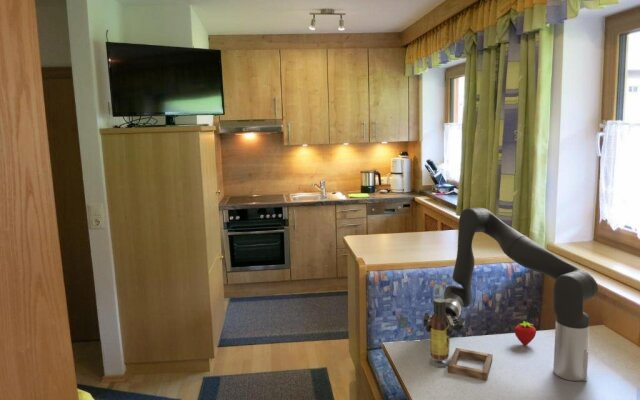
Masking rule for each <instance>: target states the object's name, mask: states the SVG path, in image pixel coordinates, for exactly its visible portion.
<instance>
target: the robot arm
mask: <svg viewBox="0 0 640 400" xmlns="http://www.w3.org/2000/svg"><path fill="white" fill-rule="evenodd" d="M457 233H458V234H457V253H456V258H455V264H454V267H453V273H452V280H453V281H454V282H455V283H457V284H459V285H460V286H461V287H460V286H456V285H454V284H450V285H448V286H446V287H445V289H444V293H443V299H445V300H446V305H445V311H446V315H447V318H448V321H449V327H448V329H447V335H448V336H449V337H450V336H451V335H453V333H454V332H455V331H456V332H458V333H460V332H462V330H463V329H464V328H465V326H466V324H465V323H466V321H465V320H466V319H465V318H464V317H462V318H461V319H459V318H460V315H461V312H462V310H463V308H468V307H469V306H470V305H471V304H472V300H473V295H472V279H473V273H474V271H475V256H474V252H473V239H474V236H475V233H483V234H485V235H488V236H489V237H490V238H492V239H493V240H495V241H496V242H497V243H498V245H499V247H500V249H501V250H502V252H503V253H504V254H505V255H506V256H507V258H509V259H510V260H512V261H514V262H515V263H516V264H517V265H520V266H521V267H523V268H526V269H528V270H530V271H534V272H537V273H540V274H542V275H546V276H548V277H550V278H552V279H554V280H555V281H554V285H553V311H554V314H555V329H554V330H555V332H554V333H555V334H554V335H555V336H554V349H553V350H554V351H553V368H552V369H553V373H554V375H556V376H557V377H559V378H561V379H563V380H567V381H571V382H581V381H582V382H583V381H584V382H587V380H588V366H589V365H588V364H589V338H590V337H589V336H590V322H591V320H590V319H591V318H590V316H589V314H588V313H586V312H585V311H584V302H585V301H588V300H590V299H592V298H594V297H595V296H596V295H597V293H598V290H599V285H598V283H597V280H595V279H596V278H594V277H593V276H592V274H590V273H589V272H587V271H585V270H584V269H581V268H579V267H577V266H576V265H573V264H572V263H569V262H568V261H565V260H564V259H562V258H560V257H558V256H557V255H556V254H554V253H553V252H552V251H549V250H547V249H546V248H544V247H542V246H541V245H540V244H539V243H537V242H536V241H534V240H532V239H531V238H529V237H528V236H527V235H525V234H522V233H521V232H519V231H518V230H516V229H515V228H513V227H512V226H509V225H508V224H506V223H505V222H503V221H502V220H501V219H500V218H498V217H497V216H496V215H495V214H494V213H492V212H491V211H490V210H489V209H487V208H484V207H469V208H464V209H463V211H461V212H460V215H459V219H458V231H457ZM431 317H432V314H431V315H430V313H429V312H425V313H424V316H423V318H422V319H423V322H422V323H423V324H422V325H423V327H425V331H426V332H427V333H430V320H431Z"/></svg>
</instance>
